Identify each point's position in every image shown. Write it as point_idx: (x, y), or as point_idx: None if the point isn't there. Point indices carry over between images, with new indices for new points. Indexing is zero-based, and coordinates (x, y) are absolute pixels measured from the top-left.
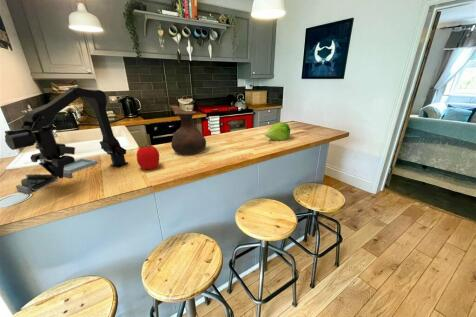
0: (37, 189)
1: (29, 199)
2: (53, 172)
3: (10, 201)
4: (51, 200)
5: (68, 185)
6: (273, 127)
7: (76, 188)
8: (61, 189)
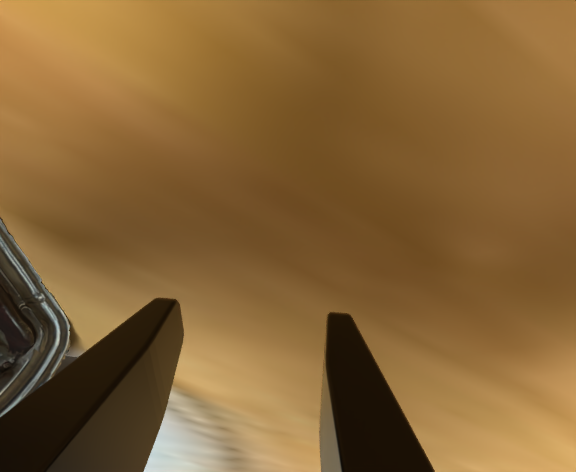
0: (48, 312)
1: (239, 427)
2: (134, 450)
3: None
4: (490, 411)
5: (294, 117)
6: None
7: (554, 156)
8: (330, 236)
